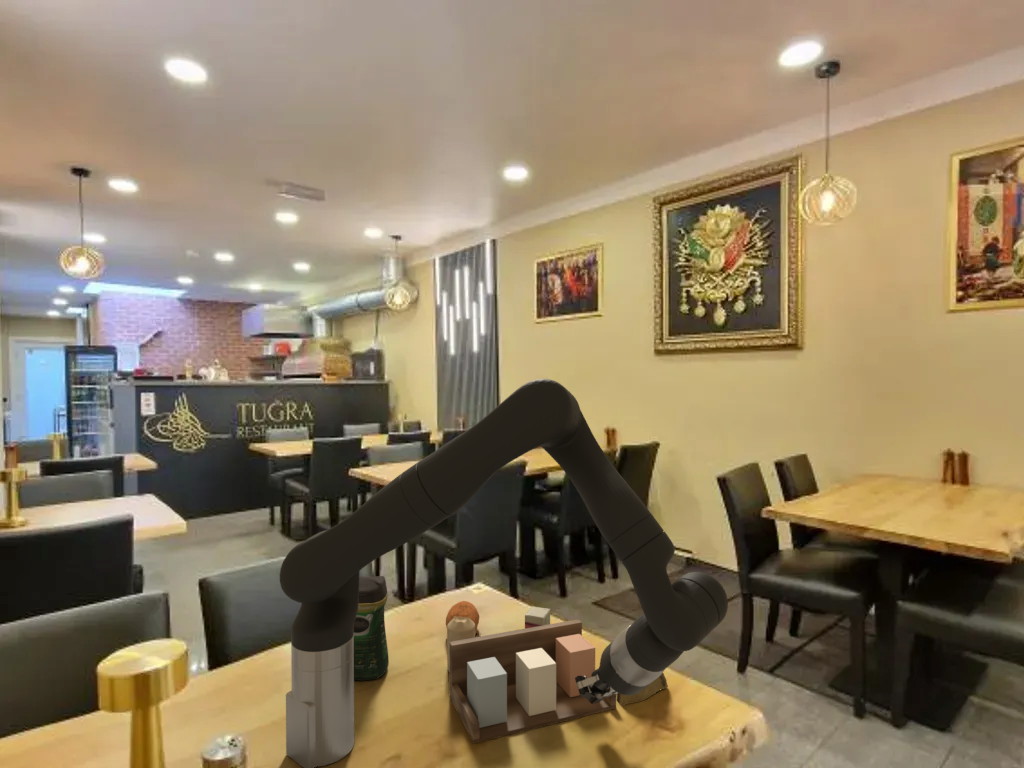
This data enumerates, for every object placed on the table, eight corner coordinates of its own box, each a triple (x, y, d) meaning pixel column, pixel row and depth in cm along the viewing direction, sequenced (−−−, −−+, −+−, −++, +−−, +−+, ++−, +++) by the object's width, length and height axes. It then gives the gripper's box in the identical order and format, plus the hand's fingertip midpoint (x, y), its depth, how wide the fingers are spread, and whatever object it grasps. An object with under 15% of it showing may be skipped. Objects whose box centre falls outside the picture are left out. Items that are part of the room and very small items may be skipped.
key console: (616, 708, 101) (616, 651, 100) (473, 743, 91) (473, 680, 91) (578, 669, 114) (578, 619, 113) (449, 697, 104) (449, 642, 104)
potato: (441, 647, 123) (440, 614, 123) (451, 621, 136) (451, 591, 136) (474, 648, 122) (474, 615, 122) (482, 622, 135) (482, 592, 135)
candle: (477, 661, 117) (477, 612, 117) (472, 676, 111) (472, 624, 111) (450, 660, 117) (450, 611, 117) (444, 674, 112) (444, 623, 112)
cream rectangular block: (556, 709, 99) (556, 663, 99) (529, 716, 97) (529, 668, 97) (541, 691, 104) (541, 647, 104) (515, 697, 102) (515, 652, 102)
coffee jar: (391, 661, 117) (391, 570, 116) (383, 682, 109) (383, 584, 109) (343, 662, 117) (343, 570, 116) (332, 683, 109) (331, 585, 108)
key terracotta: (595, 691, 104) (595, 647, 104) (570, 697, 103) (570, 652, 102) (579, 675, 110) (579, 633, 110) (555, 680, 108) (555, 638, 108)
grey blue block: (506, 721, 95) (506, 673, 95) (478, 728, 94) (478, 679, 93) (494, 702, 101) (494, 656, 101) (467, 708, 99) (467, 662, 99)
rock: (664, 663, 112) (612, 654, 112) (675, 641, 106) (620, 632, 107) (668, 723, 103) (612, 713, 104) (680, 703, 98) (621, 692, 98)
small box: (531, 641, 126) (531, 605, 125) (550, 644, 124) (550, 608, 124) (524, 652, 121) (524, 614, 121) (543, 655, 119) (543, 617, 119)
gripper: (662, 625, 89) (618, 666, 101) (586, 639, 84) (549, 680, 96) (684, 676, 84) (635, 712, 96) (605, 694, 79) (563, 730, 91)
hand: (592, 696), depth 96 cm, fingers closed
